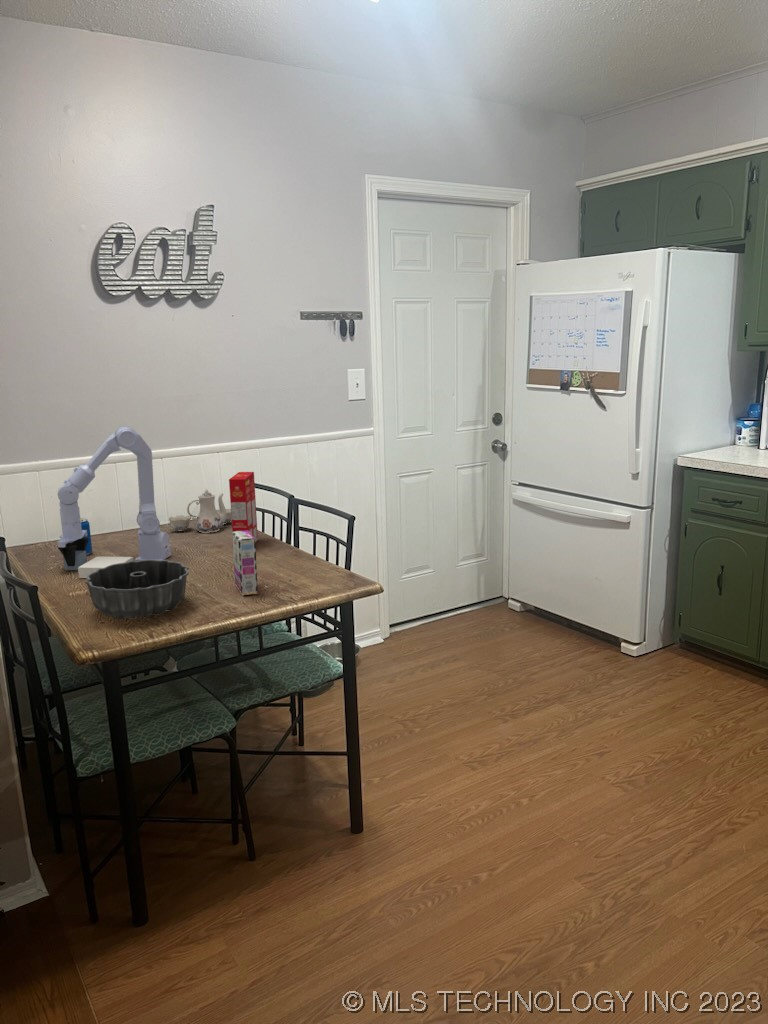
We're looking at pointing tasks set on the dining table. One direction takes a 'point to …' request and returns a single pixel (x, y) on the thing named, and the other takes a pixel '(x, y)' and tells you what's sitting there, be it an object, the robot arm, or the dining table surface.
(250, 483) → the food packaging
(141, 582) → the bundt pan
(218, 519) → the chinaware
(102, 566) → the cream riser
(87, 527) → the beverage can
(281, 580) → the dining table surface
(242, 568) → the candy bar box
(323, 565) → the dining table surface
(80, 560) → the blue cube
